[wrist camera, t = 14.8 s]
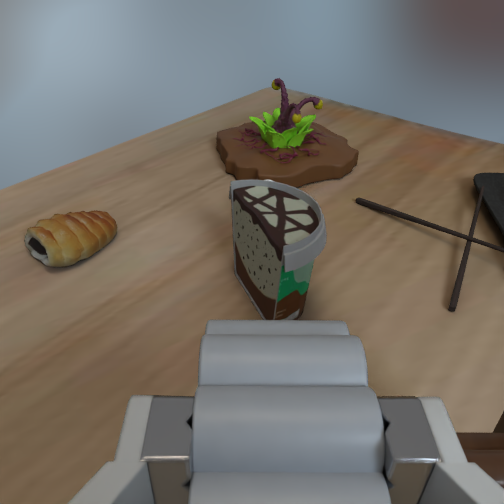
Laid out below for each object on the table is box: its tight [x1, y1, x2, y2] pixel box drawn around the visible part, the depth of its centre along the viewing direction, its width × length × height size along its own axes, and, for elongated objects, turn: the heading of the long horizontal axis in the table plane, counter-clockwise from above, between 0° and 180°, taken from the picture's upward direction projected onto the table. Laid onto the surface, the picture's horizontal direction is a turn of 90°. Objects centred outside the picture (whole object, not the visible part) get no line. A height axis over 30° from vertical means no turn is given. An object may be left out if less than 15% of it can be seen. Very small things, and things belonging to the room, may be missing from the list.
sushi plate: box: [356, 173, 504, 311], centre depth 54 cm, size 29×30×4 cm
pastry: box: [24, 211, 117, 267], centre depth 51 cm, size 9×7×4 cm
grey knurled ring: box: [188, 320, 391, 504], centre depth 13 cm, size 4×8×8 cm, turn 0°
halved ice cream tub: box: [229, 180, 327, 320], centre depth 43 cm, size 12×6×10 cm, turn 22°
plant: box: [217, 78, 359, 188], centre depth 69 cm, size 20×20×11 cm
